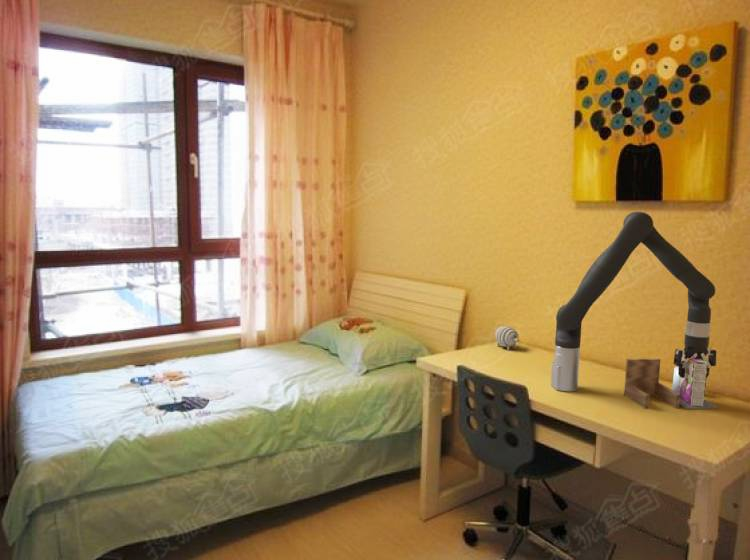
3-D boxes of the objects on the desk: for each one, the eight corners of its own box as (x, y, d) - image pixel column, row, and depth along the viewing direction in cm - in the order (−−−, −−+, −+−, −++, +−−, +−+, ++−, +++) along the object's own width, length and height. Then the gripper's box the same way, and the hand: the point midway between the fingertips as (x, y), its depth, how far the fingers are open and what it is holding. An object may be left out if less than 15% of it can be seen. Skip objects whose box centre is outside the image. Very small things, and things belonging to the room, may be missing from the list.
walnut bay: (644, 408, 183) (647, 370, 181) (624, 394, 197) (626, 358, 195) (678, 408, 184) (682, 370, 182) (655, 393, 198) (658, 358, 196)
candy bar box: (676, 395, 195) (680, 353, 192) (691, 395, 194) (695, 353, 191) (689, 406, 184) (693, 361, 181) (704, 407, 183) (708, 362, 181)
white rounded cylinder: (679, 395, 196) (681, 372, 195) (668, 388, 203) (670, 366, 202) (697, 394, 197) (699, 372, 195) (685, 388, 204) (687, 366, 202)
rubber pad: (685, 409, 183) (685, 407, 183) (665, 396, 195) (665, 395, 194) (718, 408, 183) (718, 407, 183) (696, 396, 195) (696, 394, 195)
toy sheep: (502, 342, 271) (502, 322, 269) (526, 350, 257) (527, 328, 255) (487, 345, 266) (488, 324, 264) (511, 353, 251) (512, 331, 250)
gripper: (684, 336, 181) (680, 380, 183) (723, 336, 182) (719, 380, 184) (671, 331, 189) (668, 374, 191) (709, 331, 189) (705, 373, 191)
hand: (693, 377), depth 187 cm, fingers open, 8 cm apart
